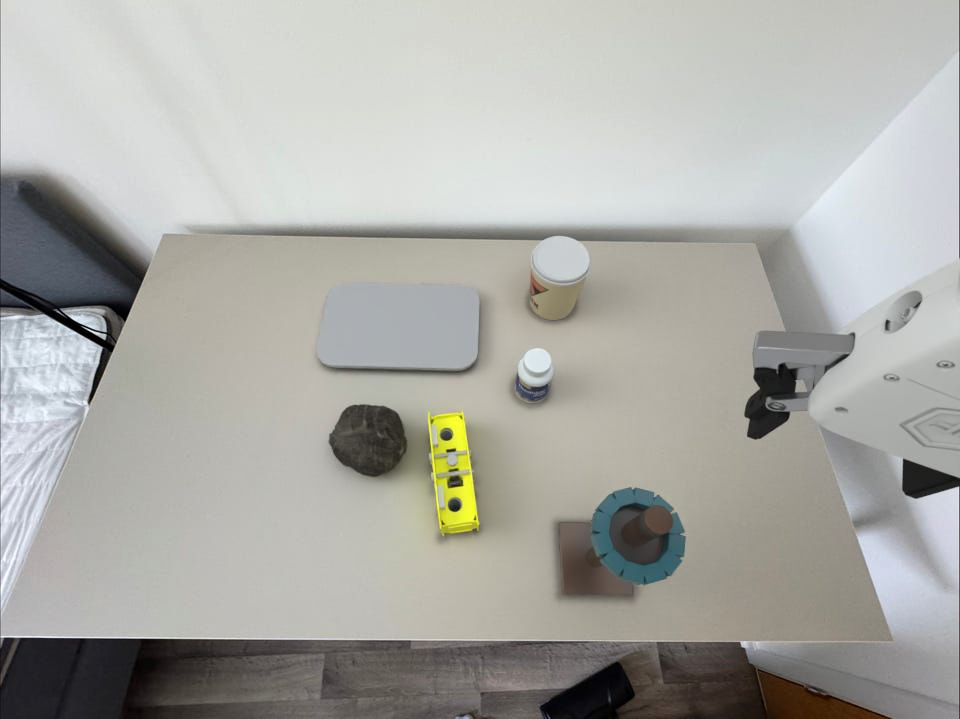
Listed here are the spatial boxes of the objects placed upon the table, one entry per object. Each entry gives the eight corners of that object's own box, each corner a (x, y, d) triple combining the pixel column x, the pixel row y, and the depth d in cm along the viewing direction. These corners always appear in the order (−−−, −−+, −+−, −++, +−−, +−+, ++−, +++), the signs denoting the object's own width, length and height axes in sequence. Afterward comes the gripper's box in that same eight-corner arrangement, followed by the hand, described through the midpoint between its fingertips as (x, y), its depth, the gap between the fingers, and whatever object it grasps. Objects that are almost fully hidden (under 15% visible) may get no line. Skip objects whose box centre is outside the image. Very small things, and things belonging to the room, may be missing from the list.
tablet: (477, 375, 81) (477, 369, 79) (316, 371, 81) (312, 364, 79) (480, 293, 88) (480, 285, 86) (333, 289, 89) (330, 281, 87)
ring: (683, 505, 51) (689, 501, 50) (675, 596, 47) (680, 595, 46) (598, 481, 52) (601, 477, 51) (583, 568, 48) (586, 566, 47)
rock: (334, 412, 76) (325, 391, 67) (408, 414, 78) (409, 394, 69) (327, 479, 73) (316, 467, 64) (405, 480, 74) (406, 468, 65)
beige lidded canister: (522, 281, 89) (528, 235, 79) (574, 279, 90) (587, 232, 79) (527, 325, 85) (534, 283, 74) (582, 323, 85) (596, 280, 75)
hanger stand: (622, 524, 70) (701, 468, 45) (631, 595, 65) (723, 576, 41) (558, 523, 70) (601, 467, 45) (562, 594, 65) (613, 575, 41)
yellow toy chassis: (428, 429, 76) (423, 408, 69) (465, 424, 77) (464, 402, 69) (439, 538, 69) (435, 527, 61) (480, 531, 69) (481, 520, 62)
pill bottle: (511, 400, 79) (515, 372, 70) (518, 370, 81) (522, 340, 72) (545, 407, 78) (553, 380, 69) (551, 377, 80) (559, 347, 72)
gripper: (863, 297, 18) (687, 447, 33) (1483, 486, 15) (974, 556, 30) (873, 163, 21) (708, 355, 36) (1383, 295, 18) (970, 445, 33)
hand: (829, 446), depth 33 cm, fingers open, 9 cm apart
